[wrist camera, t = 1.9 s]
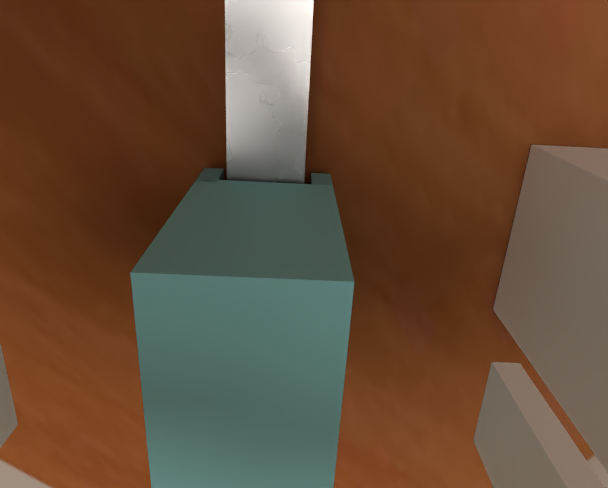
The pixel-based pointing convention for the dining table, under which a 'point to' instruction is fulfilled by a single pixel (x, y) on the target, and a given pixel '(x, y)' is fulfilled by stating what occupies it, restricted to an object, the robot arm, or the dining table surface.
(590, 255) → the cabinet
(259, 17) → the rail
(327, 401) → the block
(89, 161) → the dining table surface
